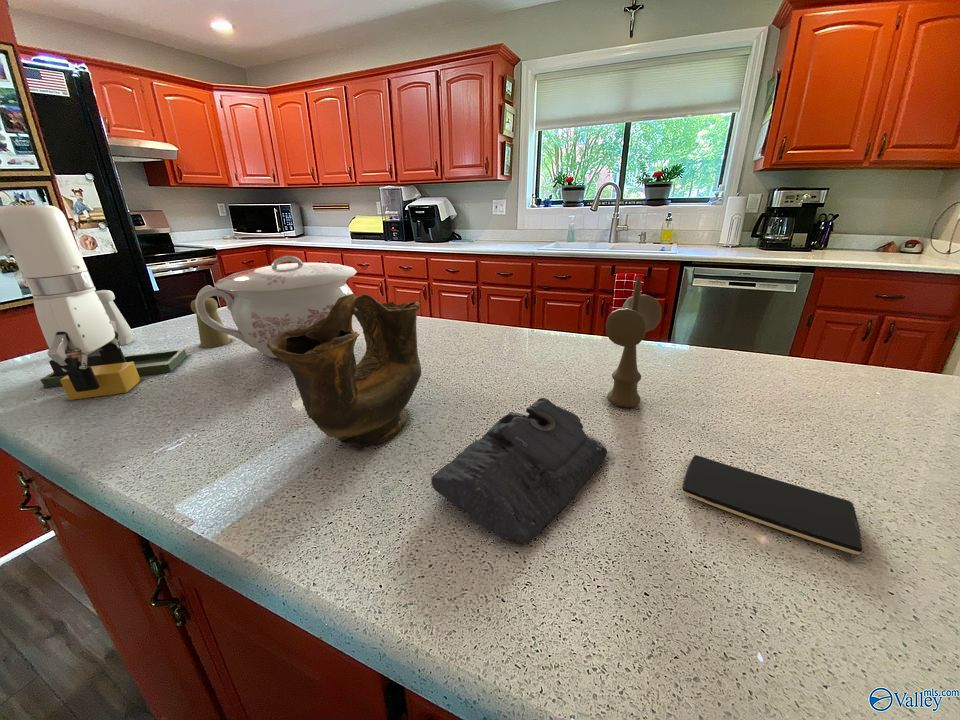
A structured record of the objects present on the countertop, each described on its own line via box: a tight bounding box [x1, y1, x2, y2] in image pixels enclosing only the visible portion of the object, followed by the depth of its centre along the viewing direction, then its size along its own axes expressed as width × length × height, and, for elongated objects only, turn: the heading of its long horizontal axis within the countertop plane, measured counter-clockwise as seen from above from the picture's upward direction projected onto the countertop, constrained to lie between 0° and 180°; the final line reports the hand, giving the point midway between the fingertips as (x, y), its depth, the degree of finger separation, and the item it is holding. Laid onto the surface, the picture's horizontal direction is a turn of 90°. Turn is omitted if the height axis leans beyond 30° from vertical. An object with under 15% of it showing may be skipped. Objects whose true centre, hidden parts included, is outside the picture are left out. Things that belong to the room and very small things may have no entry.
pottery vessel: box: [267, 293, 422, 447], centre depth 55 cm, size 25×11×20 cm, turn 159°
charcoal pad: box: [48, 348, 105, 376], centre depth 79 cm, size 8×6×4 cm, turn 107°
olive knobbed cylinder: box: [190, 297, 231, 349], centre depth 93 cm, size 6×6×11 cm
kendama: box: [605, 276, 663, 408], centre depth 60 cm, size 6×10×20 cm, turn 145°
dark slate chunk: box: [431, 397, 608, 545], centre depth 48 cm, size 15×22×5 cm
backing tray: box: [40, 348, 188, 388], centre depth 81 cm, size 21×9×2 cm, turn 107°
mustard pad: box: [60, 362, 142, 401], centre depth 72 cm, size 8×6×4 cm, turn 107°
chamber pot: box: [195, 255, 358, 359], centre depth 86 cm, size 28×28×21 cm
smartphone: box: [681, 454, 863, 556], centre depth 42 cm, size 7×1×15 cm
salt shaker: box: [95, 289, 134, 346], centre depth 95 cm, size 6×6×13 cm
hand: (104, 378), depth 72 cm, fingers open, 9 cm apart
